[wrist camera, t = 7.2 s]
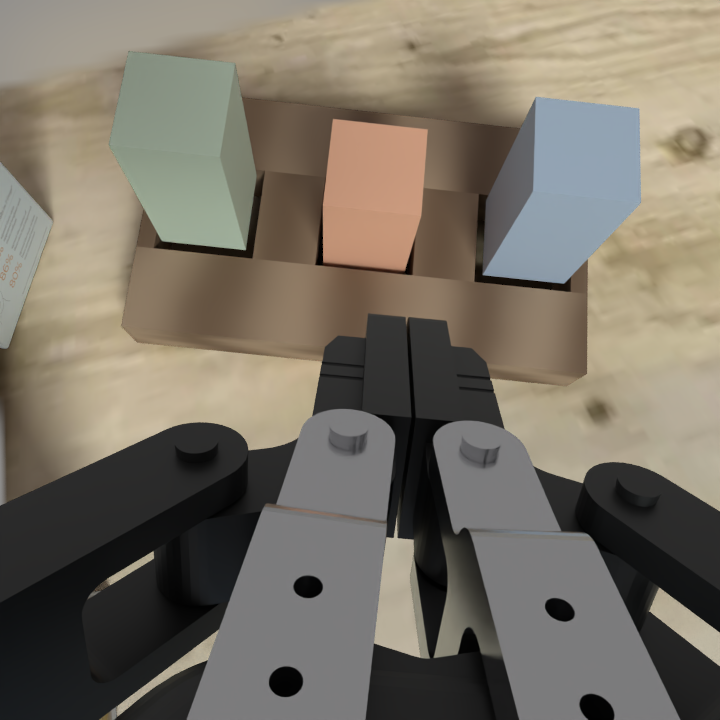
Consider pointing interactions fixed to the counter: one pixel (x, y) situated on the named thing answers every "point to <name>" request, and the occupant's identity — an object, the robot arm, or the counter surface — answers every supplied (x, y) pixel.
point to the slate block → (562, 189)
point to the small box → (18, 249)
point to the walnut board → (350, 286)
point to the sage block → (186, 148)
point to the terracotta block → (372, 195)
